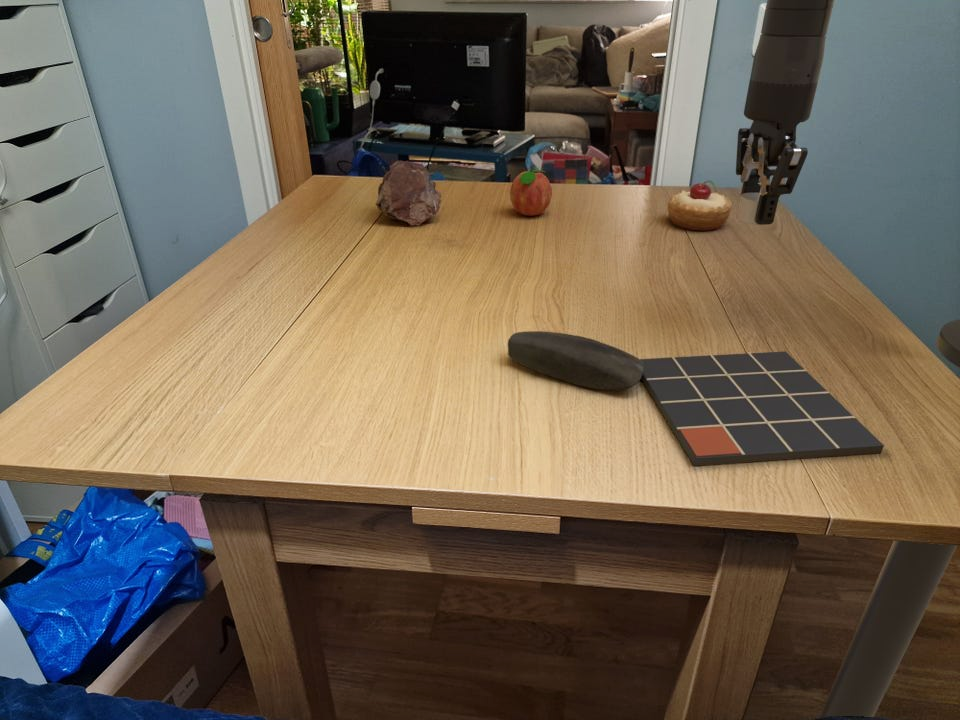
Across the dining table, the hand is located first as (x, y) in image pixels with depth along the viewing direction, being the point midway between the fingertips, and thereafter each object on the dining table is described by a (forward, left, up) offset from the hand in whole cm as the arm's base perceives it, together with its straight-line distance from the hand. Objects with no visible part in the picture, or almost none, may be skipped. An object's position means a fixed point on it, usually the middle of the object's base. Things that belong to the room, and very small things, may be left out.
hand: (754, 217), depth 87 cm
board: (+8, +21, -15) cm, 27 cm away
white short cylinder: (0, 0, 0) cm, 0 cm away
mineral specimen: (+45, -54, -15) cm, 72 cm away
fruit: (+20, -53, -15) cm, 59 cm away
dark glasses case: (+26, +12, -15) cm, 32 cm away
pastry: (-12, -43, -15) cm, 47 cm away
